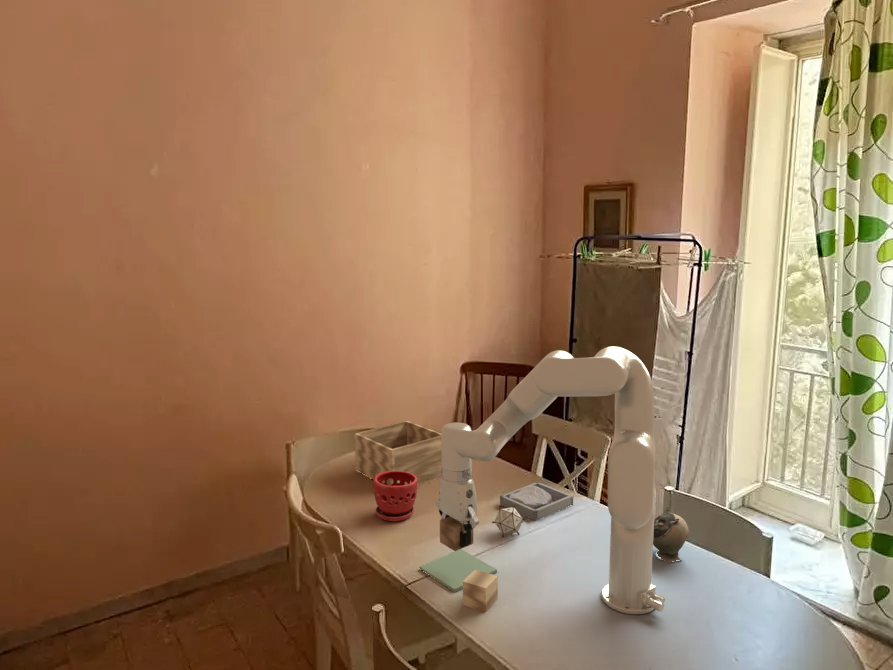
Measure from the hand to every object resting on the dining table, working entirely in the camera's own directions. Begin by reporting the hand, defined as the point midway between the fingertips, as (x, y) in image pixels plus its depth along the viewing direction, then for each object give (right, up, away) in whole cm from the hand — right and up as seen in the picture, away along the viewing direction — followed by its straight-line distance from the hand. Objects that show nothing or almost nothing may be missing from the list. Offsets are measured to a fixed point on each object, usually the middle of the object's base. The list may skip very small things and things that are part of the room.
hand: (456, 539), depth 168 cm
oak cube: (+5, -11, -12) cm, 17 cm away
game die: (+15, -5, +21) cm, 26 cm away
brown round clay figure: (+56, -7, +8) cm, 57 cm away
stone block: (+24, -2, +40) cm, 47 cm away
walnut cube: (0, -1, 0) cm, 1 cm away
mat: (0, -8, +1) cm, 8 cm away
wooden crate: (-19, +3, +68) cm, 70 cm away
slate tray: (+25, -1, +39) cm, 47 cm away
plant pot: (-18, -3, +34) cm, 38 cm away
